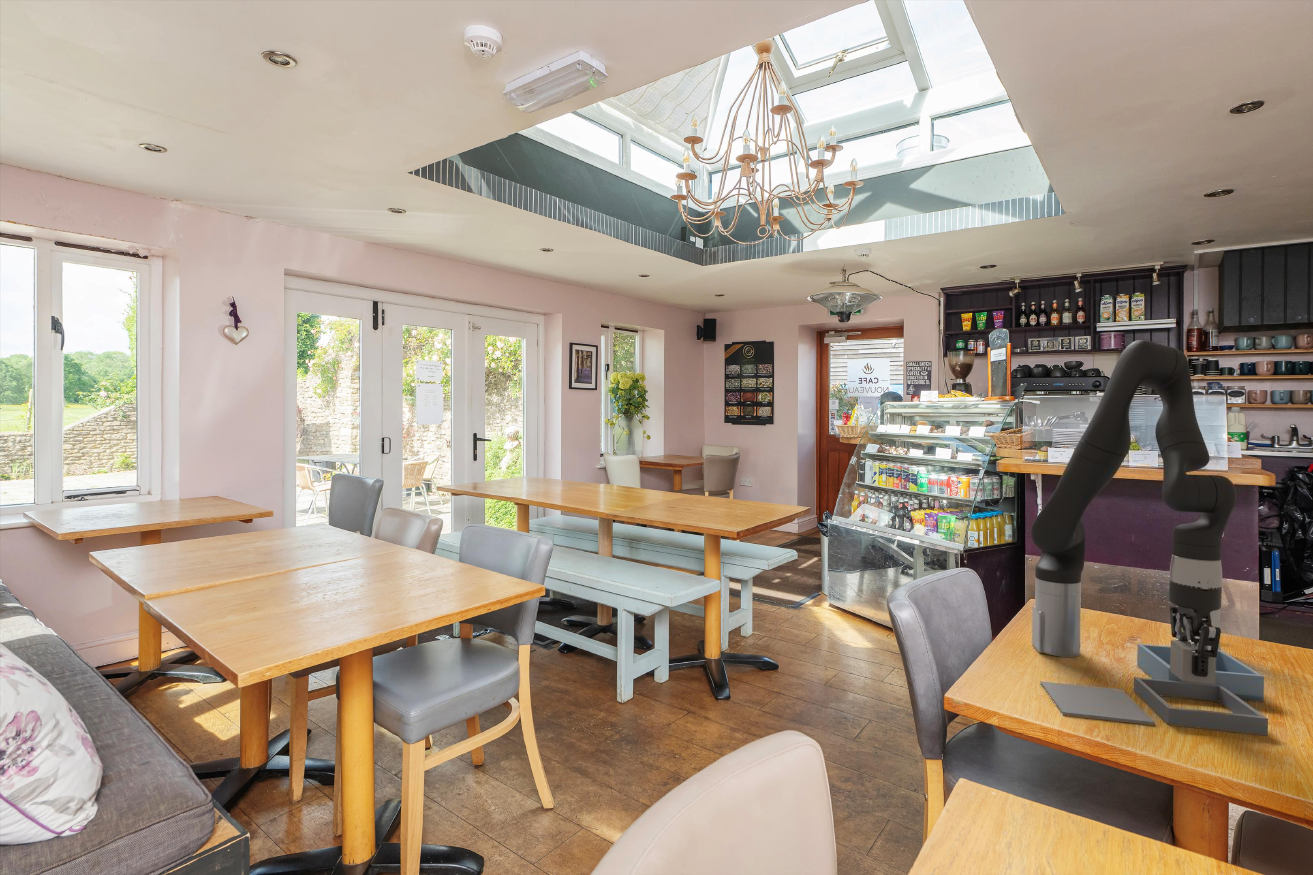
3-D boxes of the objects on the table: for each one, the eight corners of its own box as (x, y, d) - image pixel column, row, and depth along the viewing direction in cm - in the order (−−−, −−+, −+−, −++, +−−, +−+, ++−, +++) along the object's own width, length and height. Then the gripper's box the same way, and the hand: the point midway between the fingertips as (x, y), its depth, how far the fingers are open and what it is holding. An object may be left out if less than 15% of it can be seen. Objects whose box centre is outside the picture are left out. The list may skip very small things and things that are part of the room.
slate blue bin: (1168, 692, 128) (1168, 667, 128) (1137, 665, 142) (1137, 643, 142) (1263, 701, 124) (1264, 676, 124) (1221, 673, 138) (1222, 650, 138)
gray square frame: (1168, 724, 115) (1168, 708, 115) (1133, 691, 129) (1133, 676, 129) (1267, 735, 111) (1268, 718, 111) (1221, 700, 125) (1221, 685, 125)
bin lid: (1062, 715, 119) (1062, 711, 119) (1040, 683, 133) (1040, 681, 133) (1154, 725, 115) (1155, 722, 115) (1121, 692, 129) (1121, 689, 129)
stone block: (1182, 680, 118) (1183, 649, 118) (1169, 670, 123) (1170, 639, 123) (1215, 684, 117) (1216, 652, 117) (1201, 673, 122) (1202, 642, 121)
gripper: (1154, 570, 127) (1151, 654, 128) (1189, 588, 114) (1186, 682, 114) (1200, 573, 125) (1197, 658, 125) (1241, 592, 111) (1238, 688, 112)
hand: (1192, 669), depth 120 cm, fingers closed on stone block, 5 cm apart
